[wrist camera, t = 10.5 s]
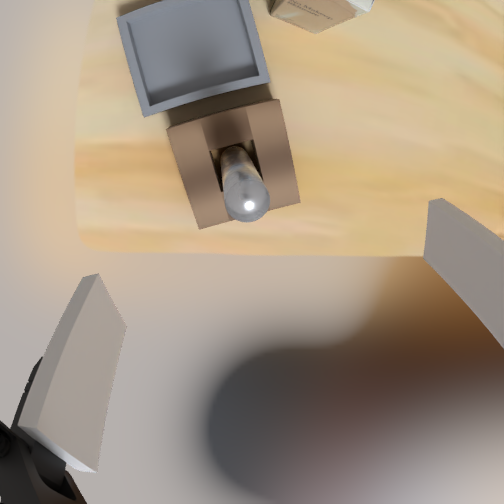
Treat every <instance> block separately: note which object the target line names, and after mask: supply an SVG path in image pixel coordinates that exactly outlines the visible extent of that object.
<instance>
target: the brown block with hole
mask: <svg viewBox="0 0 504 504" xmlns="http://www.w3.org/2000/svg"><path fill="white" fill-rule="evenodd" d="M166 130H167V134H168V137H169V140H170V143H171V146H172V149H173V153H174V156H175V159H176V162H177V165H178V168H179V171H180V174H181V177H182V180H183V183H184V186H185V189H186V192H187V195H188V198H189V201H190V204H191V207H192V210H193V213H194V216H195V219H196V222H197V224H198V227H199V230H200V229H203V228H207V227H210V226H214V225H217V224H221V223H225V222H228V221H232V220H236V219H234V218H233V217H231V216H230V215H229V213H228V212H227V210H226V207H225V200H224V191H223V182H222V183H220V181H219V177H218V174H217V170H216V167H215V163H214V160H213V156H212V153H211V150H214V149H218V148H222V147H225V146H229V145H233V144H236V143H240V142H244V141H248V140H251V142H252V146H253V150H254V154H255V158H256V163H257V167H258V171H259V173H258V174H259V175H260V177H261V179H262V181H263V183H264V185H265V186H266V188H267V190H268V192H269V195H270V205H269V208H268V210H267V211H269V210H273V209H277V208H281V207H285V206H289V205H293V204H297V203H301V202H300V196H299V191H298V186H297V180H296V175H295V170H294V165H293V160H292V155H291V150H290V146H289V141H288V136H287V132H286V127H285V122H284V118H283V114H282V109H281V105H280V101H279V99H270V100H265V101H261V102H256V103H252V104H247V105H243V106H239V107H235V108H231V109H227V110H223V111H220V112H216V113H212V114H209V115H205V116H202V117H198V118H195V119H192V120H188V121H185V122H182V123H179V124H176V125H173V126H170V127H169V128H168V129H166Z"/></svg>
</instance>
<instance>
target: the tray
mask: <svg viewBox="0 0 504 504" xmlns="http://www.w3.org/2000/svg"><path fill="white" fill-rule="evenodd" d="M116 19H117V23H118V27H119V31H120V35H121V39H122V43H123V46H124V50H125V54H126V58H127V61H128V65H129V69H130V72H131V76H132V79H133V83H134V86H135V90H136V93H137V96H138V100H139V103H140V106H141V110H142V113H143V116H144V117H147V116H150V115H153V114H156V113H158V112H161V111H164V110H167V109H170V108H173V107H176V106H179V105H183V104H186V103H189V102H192V101H196V100H199V99H203V98H206V97H210V96H213V95H217V94H221V93H225V92H229V91H233V90H237V89H241V88H245V87H250V86H254V85H259V84H264V83H269V82H270V78H269V74H268V70H267V66H266V62H265V58H264V54H263V51H262V47H261V43H260V39H259V36H258V32H257V28H256V25H255V21H254V18H253V14H252V11H251V7H250V4H249V1H248V0H163V1H160V2H157V3H154V4H151V5H148V6H145V7H143V8H140V9H137V10H135V11H132V12H129V13H127V14H124V15H122V16H120V17H117V18H116Z"/></svg>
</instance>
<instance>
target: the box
mask: <svg viewBox="0 0 504 504" xmlns="http://www.w3.org/2000/svg"><path fill="white" fill-rule="evenodd" d="M373 3H374V0H275V3H274V5H273V8H272V10H271V13H270V15H271V16H273V17H275V18H278V19H281V20H283V21H285V22H288V23H290V24H293V25H295V26H298V27H300V28H302V29H305V30H307V31H309V32H312V33H314V34H317V33H319V32H322V31H324V30H326V29H328V28H330V27H333V26H335V25H337V24H340V23H342V22H345V21H347V20H349V19H352V18H354V17H357V16H360V15H362V14H365V13H368V12H369V11H370V9H371V7H372V5H373Z"/></svg>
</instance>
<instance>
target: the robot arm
mask: <svg viewBox="0 0 504 504" xmlns="http://www.w3.org/2000/svg"><path fill="white" fill-rule="evenodd" d="M423 259H424V260H425V261H426V262H427V263H428V264H429V265H430V266H431V267H432V268H433V269H434V270H435V271H436V272H437V273H438V274H439V275H440V276H441V277H442V278H443V279H444V280H445V281H446V282H447V283H448V284H449V285H450V286H451V288H453V290H454V291H455V292H456V293H457V294H458V295H459V296H460V297H461V298H462V300H463V301H464V302H465V303H466V304H467V305H468V306H469V307H470V308H471V310H472V311H473V312H474V313H475V314H476V315H477V317H478V318H479V319H480V320H481V321H482V322H483V324H484V325H485V326H486V327H487V328H488V330H489V331H490V332H491V333H492V334H493V336H494V337H495V338H496V339H497V341H498V342H499V343H500V344H501V346H502V347H503V348H504V241H503V240H502V239H501V238H499V237H498V236H497V235H495V234H494V233H493V232H491V231H490V230H489V229H487V228H486V227H485V226H483V225H482V224H480V223H479V222H478V221H476V220H475V219H473V218H472V217H470V216H469V215H467V214H466V213H464V212H463V211H461V210H460V209H458V208H457V207H455V206H454V205H452V204H451V203H449V202H448V201H446V200H445V199H443V198H440V199H435V200H430V201H429V206H428V219H427V230H426V240H425V248H424V256H423ZM126 328H127V326H126V324H125V322H124V321H123V319H122V317H121V315H120V313H119V312H118V310H117V308H116V306H115V304H114V302H113V301H112V299H111V297H110V295H109V293H108V291H107V289H106V287H105V285H104V283H103V281H102V279H101V277H100V275H99V274H94V275H90V276H86V277H83V278H82V280H81V282H80V283H79V285H78V287H77V289H76V291H75V292H74V294H73V297H72V298H71V300H70V302H69V304H68V306H67V308H66V310H65V312H64V314H63V316H62V318H61V320H60V322H59V324H58V326H57V328H56V330H55V332H54V334H53V336H52V339H51V341H50V343H49V345H48V347H47V349H46V352H45V354H44V356H43V357H41V359H40V360H39V361H38V362H37V364H36V365H35V366H34V368H33V370H32V372H31V374H30V377H29V380H28V381H29V383H27V384H26V387H25V389H24V390H25V393H23V395H22V397H21V400H20V403H19V405H18V408H17V411H16V414H15V417H14V420H13V423H12V426H11V428H10V429H9V428H8V427H7V426H6V425H5V424H4V423H2V422H1V421H0V496H1V502H0V504H87V503H86V501H85V499H84V498H83V496H82V494H81V493H80V491H79V489H78V487H77V485H76V484H75V482H74V480H73V478H72V476H71V475H70V474H69V472H68V471H66V470H65V467H66V463H67V464H69V465H70V466H72V467H73V468H75V469H76V470H78V471H85V472H94V473H97V470H98V463H99V455H100V449H101V443H102V437H103V431H104V425H105V420H106V414H107V409H108V404H109V399H110V394H111V390H112V385H113V381H114V376H115V371H116V367H117V363H118V359H119V355H120V351H121V347H122V343H123V339H124V336H125V332H126Z"/></svg>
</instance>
